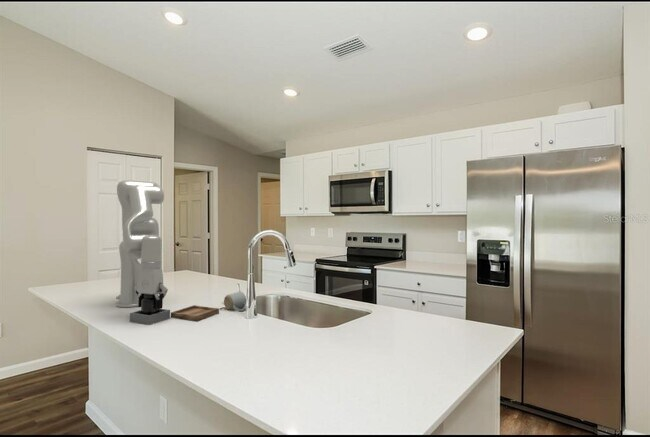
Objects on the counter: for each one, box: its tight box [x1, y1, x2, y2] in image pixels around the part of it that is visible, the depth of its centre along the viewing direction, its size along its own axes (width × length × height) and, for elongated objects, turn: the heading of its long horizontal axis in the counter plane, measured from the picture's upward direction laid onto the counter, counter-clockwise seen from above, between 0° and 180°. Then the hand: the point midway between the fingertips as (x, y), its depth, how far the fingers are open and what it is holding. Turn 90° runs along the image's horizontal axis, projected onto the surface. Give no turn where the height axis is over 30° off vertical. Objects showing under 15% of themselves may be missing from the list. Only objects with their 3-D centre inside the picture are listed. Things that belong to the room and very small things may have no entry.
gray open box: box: [129, 308, 171, 326], centre depth 147 cm, size 11×11×4 cm
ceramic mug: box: [223, 291, 247, 313], centre depth 166 cm, size 11×8×8 cm
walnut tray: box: [170, 305, 220, 322], centre depth 155 cm, size 14×14×2 cm
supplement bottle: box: [140, 294, 159, 315], centre depth 147 cm, size 7×7×12 cm
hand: (150, 307), depth 147 cm, fingers open, 8 cm apart
